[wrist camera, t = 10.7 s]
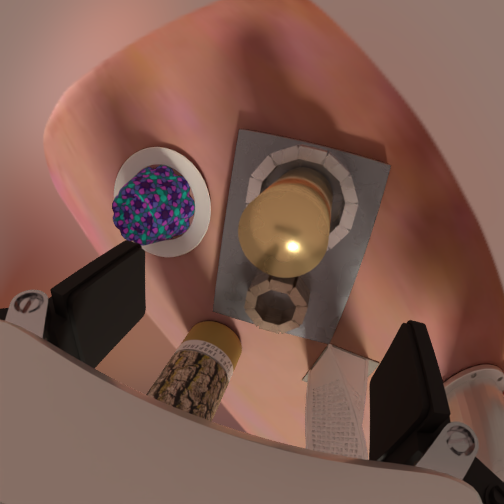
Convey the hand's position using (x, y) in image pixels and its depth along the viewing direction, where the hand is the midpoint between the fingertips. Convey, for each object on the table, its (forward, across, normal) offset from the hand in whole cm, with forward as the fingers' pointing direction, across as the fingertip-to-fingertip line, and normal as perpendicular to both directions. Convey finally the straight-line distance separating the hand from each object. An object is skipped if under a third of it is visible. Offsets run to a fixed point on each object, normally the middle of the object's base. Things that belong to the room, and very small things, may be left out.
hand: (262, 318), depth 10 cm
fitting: (+17, 0, 0) cm, 17 cm away
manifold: (+19, 0, +5) cm, 19 cm away
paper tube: (+19, +6, +20) cm, 28 cm away
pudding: (+19, +15, +4) cm, 25 cm away
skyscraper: (+20, -8, +19) cm, 28 cm away
